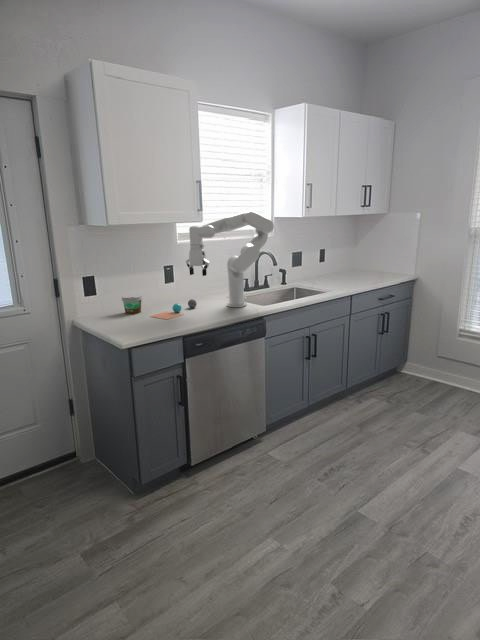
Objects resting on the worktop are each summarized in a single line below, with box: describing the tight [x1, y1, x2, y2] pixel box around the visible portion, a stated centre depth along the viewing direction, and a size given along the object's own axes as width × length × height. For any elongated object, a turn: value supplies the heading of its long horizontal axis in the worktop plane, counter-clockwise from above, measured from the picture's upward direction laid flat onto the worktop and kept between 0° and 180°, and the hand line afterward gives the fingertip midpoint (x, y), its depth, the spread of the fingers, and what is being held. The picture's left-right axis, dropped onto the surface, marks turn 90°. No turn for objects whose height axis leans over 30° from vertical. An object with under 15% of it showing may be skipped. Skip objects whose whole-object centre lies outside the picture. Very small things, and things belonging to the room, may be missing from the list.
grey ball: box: [187, 299, 197, 309], centre depth 272 cm, size 6×6×6 cm
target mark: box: [149, 311, 184, 320], centre depth 254 cm, size 14×14×1 cm
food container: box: [121, 296, 143, 315], centre depth 260 cm, size 12×6×10 cm, turn 92°
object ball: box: [171, 303, 182, 313], centre depth 261 cm, size 6×6×6 cm
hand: (198, 275), depth 265 cm, fingers open, 9 cm apart
